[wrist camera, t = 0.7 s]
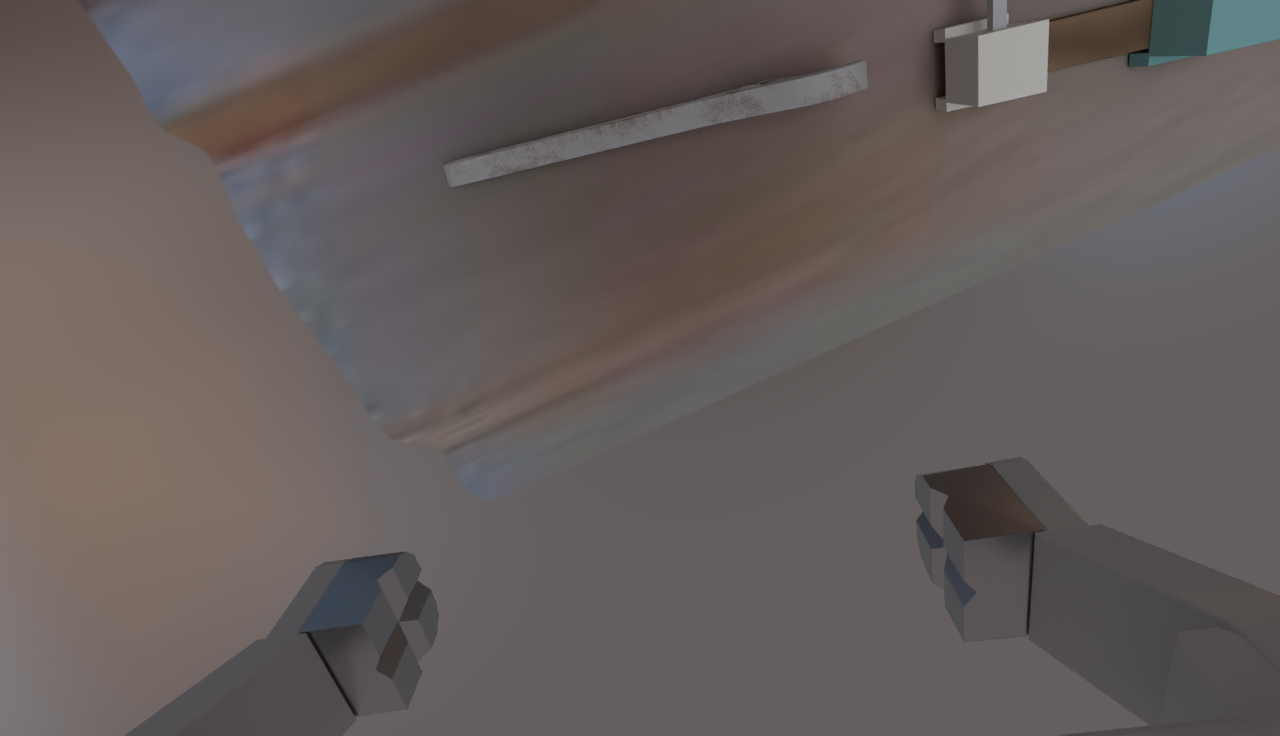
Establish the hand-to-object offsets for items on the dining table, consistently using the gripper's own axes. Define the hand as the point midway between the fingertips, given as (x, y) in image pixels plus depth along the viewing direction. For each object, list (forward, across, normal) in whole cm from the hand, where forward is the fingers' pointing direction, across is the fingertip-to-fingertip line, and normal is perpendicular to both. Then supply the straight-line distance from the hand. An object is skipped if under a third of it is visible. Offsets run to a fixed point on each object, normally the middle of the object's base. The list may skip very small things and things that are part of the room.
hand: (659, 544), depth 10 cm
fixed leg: (+42, -22, -5) cm, 48 cm away
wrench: (+43, +1, -3) cm, 43 cm away
